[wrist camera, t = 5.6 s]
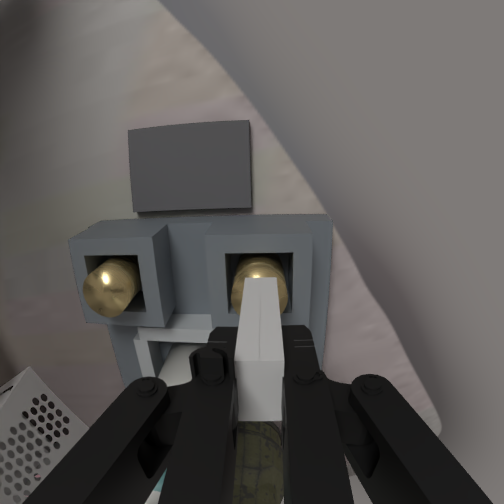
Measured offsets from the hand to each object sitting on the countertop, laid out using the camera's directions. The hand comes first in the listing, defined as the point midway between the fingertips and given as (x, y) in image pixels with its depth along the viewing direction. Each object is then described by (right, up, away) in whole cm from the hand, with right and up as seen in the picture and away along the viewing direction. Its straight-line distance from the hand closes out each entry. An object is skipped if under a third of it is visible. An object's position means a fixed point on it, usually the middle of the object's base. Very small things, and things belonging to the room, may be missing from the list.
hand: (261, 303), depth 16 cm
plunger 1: (-8, +1, +4) cm, 10 cm away
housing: (-3, -3, +8) cm, 9 cm away
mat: (-5, +8, +5) cm, 10 cm away
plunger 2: (0, +1, +4) cm, 4 cm away
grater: (-26, -17, +14) cm, 34 cm away
